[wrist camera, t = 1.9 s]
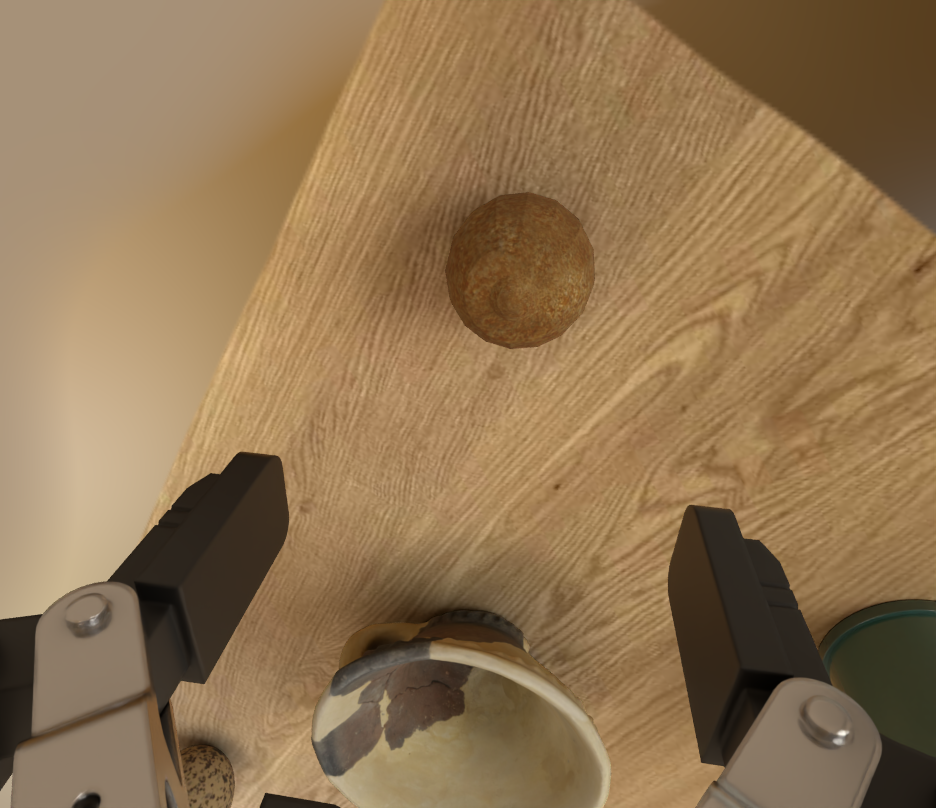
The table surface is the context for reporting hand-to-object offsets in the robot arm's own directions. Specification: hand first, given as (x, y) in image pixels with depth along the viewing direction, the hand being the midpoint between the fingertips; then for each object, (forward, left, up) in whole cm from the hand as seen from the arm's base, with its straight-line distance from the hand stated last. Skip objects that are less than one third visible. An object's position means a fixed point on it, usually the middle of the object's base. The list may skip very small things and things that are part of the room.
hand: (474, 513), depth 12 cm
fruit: (0, 0, -20) cm, 20 cm away
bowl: (+1, +28, -20) cm, 34 cm away
